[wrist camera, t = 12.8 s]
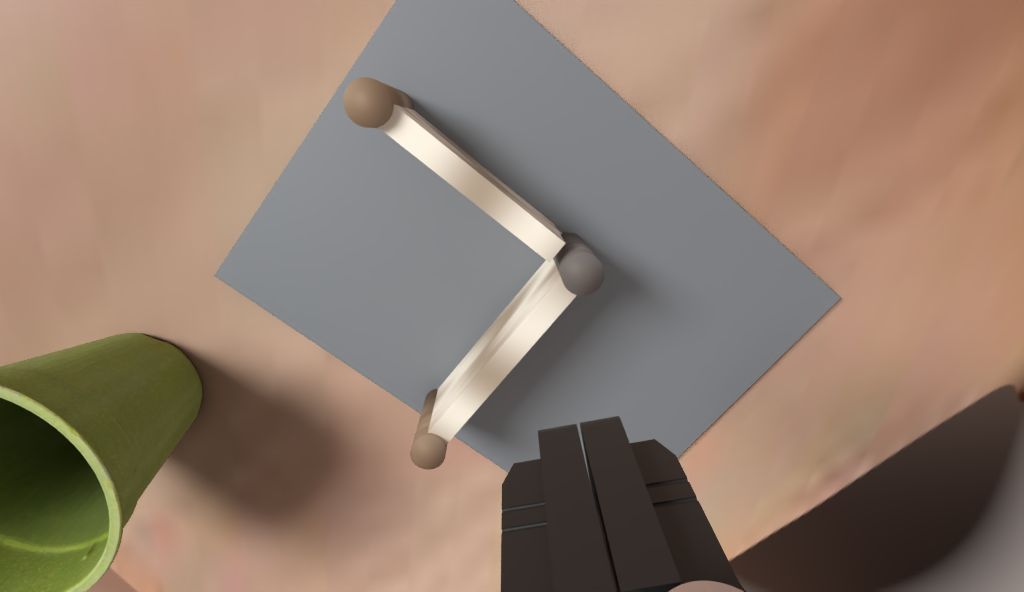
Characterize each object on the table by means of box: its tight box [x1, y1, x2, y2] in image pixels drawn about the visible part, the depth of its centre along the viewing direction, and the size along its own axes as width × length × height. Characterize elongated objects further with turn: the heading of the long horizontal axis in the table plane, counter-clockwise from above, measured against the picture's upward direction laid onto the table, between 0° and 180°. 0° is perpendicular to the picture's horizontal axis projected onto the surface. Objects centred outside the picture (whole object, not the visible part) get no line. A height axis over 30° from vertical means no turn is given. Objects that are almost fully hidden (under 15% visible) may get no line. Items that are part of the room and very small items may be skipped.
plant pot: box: [0, 333, 203, 592], centre depth 27 cm, size 12×12×11 cm
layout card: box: [214, 0, 841, 476], centre depth 31 cm, size 22×30×1 cm
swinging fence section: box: [410, 233, 604, 469], centre depth 28 cm, size 14×2×6 cm, turn 141°
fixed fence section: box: [343, 77, 566, 263], centre depth 26 cm, size 12×2×6 cm, turn 51°
